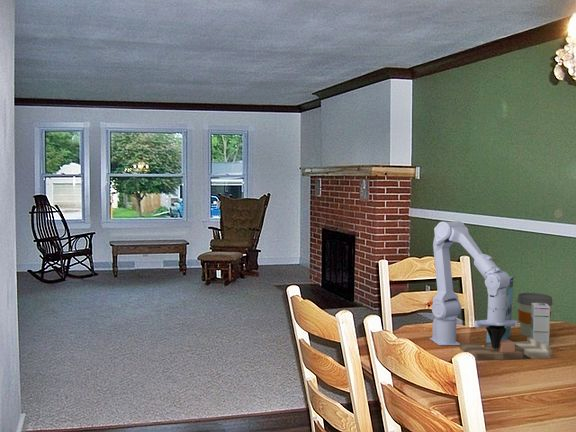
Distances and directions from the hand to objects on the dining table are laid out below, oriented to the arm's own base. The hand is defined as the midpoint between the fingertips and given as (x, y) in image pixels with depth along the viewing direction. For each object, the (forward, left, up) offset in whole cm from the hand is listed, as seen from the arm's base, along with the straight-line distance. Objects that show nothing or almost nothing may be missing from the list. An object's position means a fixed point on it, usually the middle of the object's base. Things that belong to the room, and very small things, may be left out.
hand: (495, 348), depth 213 cm
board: (-3, +4, -3) cm, 6 cm away
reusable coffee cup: (-27, +29, -3) cm, 40 cm away
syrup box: (-14, +24, -3) cm, 28 cm away
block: (0, +3, -1) cm, 4 cm away
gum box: (-19, +11, -3) cm, 22 cm away
